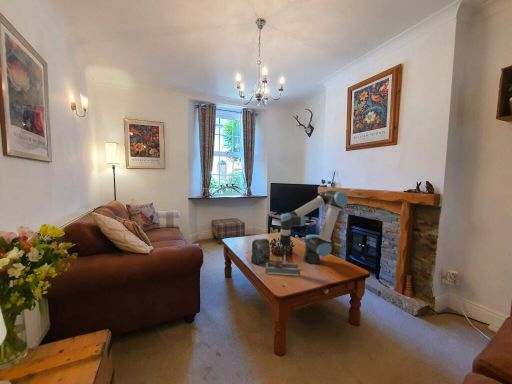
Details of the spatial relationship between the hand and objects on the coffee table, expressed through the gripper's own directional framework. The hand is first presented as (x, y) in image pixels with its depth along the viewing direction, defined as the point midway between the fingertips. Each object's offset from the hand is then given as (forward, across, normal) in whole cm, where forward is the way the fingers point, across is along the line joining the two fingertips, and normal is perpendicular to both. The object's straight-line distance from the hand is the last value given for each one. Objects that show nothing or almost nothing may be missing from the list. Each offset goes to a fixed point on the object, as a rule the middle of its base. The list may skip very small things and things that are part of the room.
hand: (284, 263), depth 176 cm
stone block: (+6, +19, -16) cm, 26 cm away
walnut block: (+5, +5, 0) cm, 7 cm away
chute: (+6, +1, 0) cm, 6 cm away
